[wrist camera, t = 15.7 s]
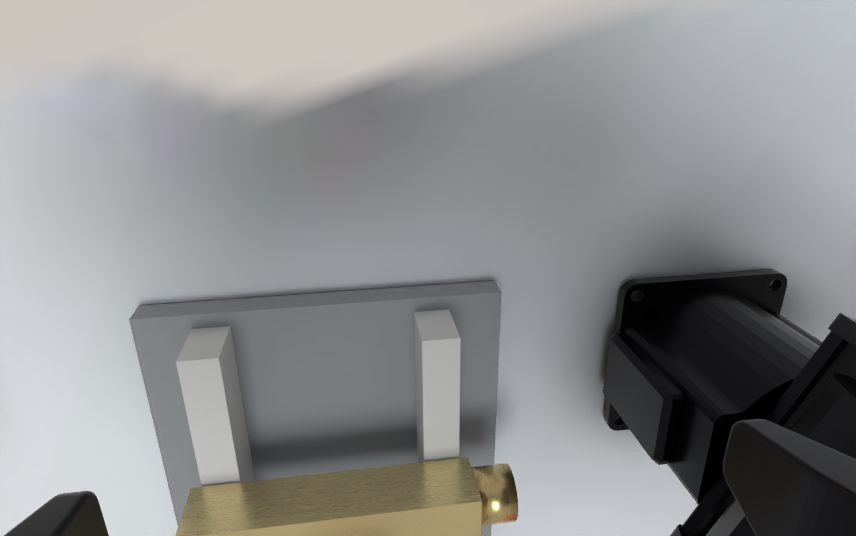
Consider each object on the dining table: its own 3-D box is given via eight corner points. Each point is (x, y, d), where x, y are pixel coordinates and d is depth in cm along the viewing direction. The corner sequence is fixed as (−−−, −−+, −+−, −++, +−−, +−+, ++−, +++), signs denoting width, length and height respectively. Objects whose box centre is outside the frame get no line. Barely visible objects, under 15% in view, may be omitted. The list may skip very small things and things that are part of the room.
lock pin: (502, 449, 20) (520, 493, 18) (501, 491, 20) (517, 536, 18) (190, 484, 18) (173, 534, 16) (199, 526, 19) (184, 579, 17)
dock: (493, 280, 21) (517, 319, 18) (481, 618, 27) (497, 684, 24) (139, 305, 19) (105, 351, 16) (219, 657, 26) (204, 732, 23)
